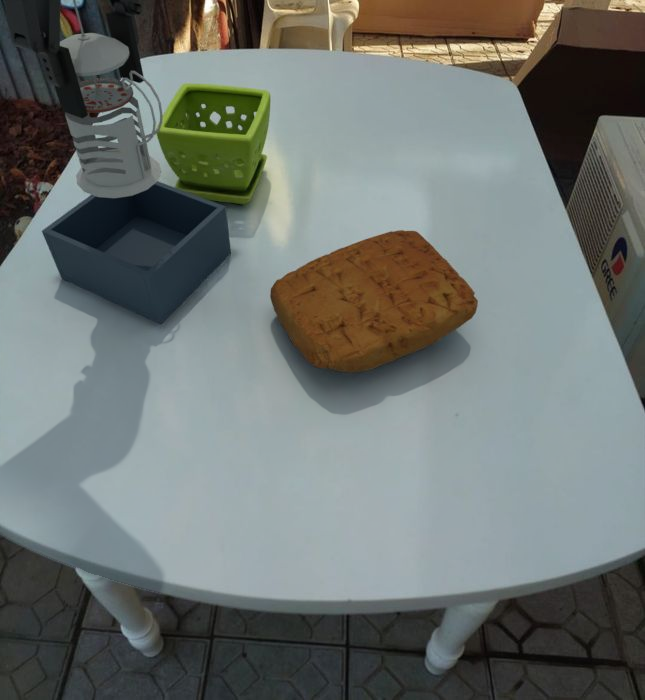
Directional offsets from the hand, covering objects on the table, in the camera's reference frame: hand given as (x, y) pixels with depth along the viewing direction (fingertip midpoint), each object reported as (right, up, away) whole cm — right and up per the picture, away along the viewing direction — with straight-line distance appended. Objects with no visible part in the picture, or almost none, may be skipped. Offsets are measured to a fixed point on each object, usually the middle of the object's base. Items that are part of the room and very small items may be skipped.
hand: (104, 95), depth 62 cm
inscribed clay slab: (+29, -24, +13) cm, 40 cm away
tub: (-1, -15, +18) cm, 24 cm away
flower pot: (+7, -1, +31) cm, 32 cm away
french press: (0, -6, +8) cm, 10 cm away
